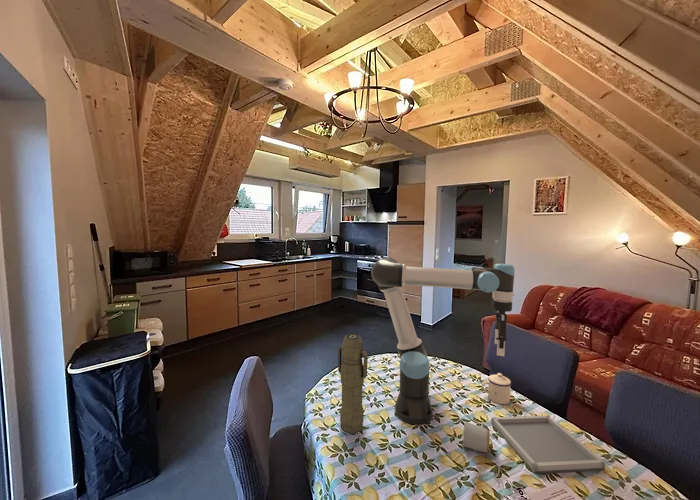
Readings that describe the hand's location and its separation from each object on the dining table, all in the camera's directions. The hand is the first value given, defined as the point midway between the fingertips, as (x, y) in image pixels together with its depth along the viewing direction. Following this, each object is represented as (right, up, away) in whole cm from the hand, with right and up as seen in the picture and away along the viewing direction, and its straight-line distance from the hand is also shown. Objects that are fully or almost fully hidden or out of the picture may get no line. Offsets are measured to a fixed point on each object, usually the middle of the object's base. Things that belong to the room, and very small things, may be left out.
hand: (499, 349), depth 120 cm
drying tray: (+4, -26, -21) cm, 34 cm away
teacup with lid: (+2, -25, +7) cm, 26 cm away
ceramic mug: (-20, -26, -22) cm, 39 cm away
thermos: (-63, -25, -13) cm, 69 cm away
